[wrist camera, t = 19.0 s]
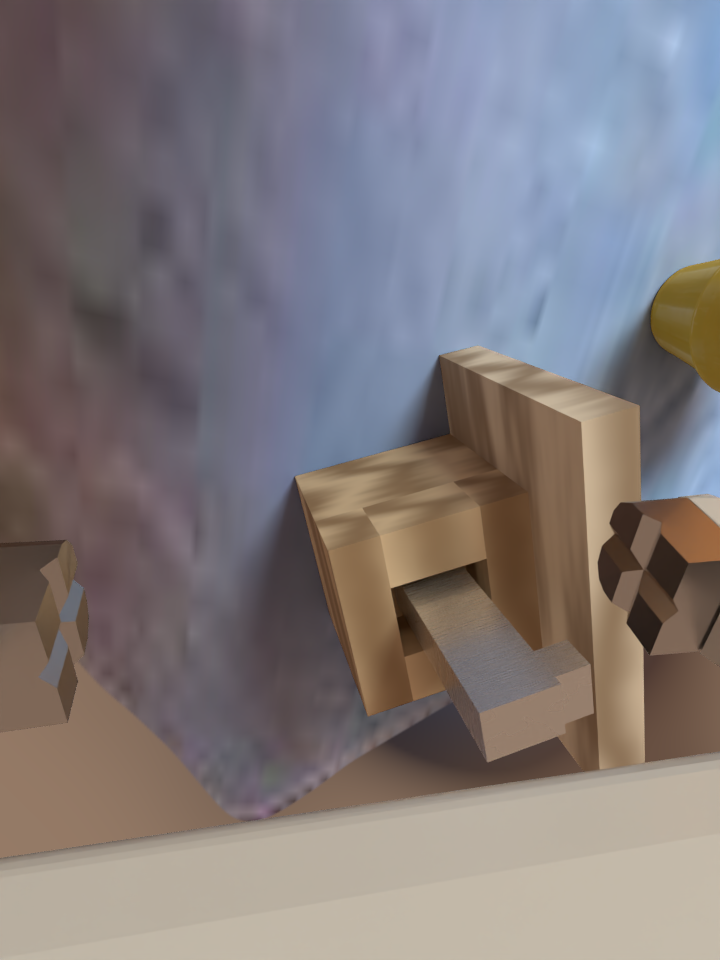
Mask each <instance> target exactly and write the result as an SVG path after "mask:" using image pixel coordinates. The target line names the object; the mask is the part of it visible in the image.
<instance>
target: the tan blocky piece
mask: <svg viewBox="0 0 720 960" xmlns="http://www.w3.org/2000/svg"><path fill="white" fill-rule="evenodd" d="M439 358H440V365H441V372H442V379H443V386H444V393H445V400H446V408H447V415H448V422H449V429H450V434H448V435H444V436H441V437H437V438H433V439H430V440H426V441H422V442H419V443H415V444H411V445H408V446H404V447H400V448H397V449H393V450H389V451H386V452H382V453H378V454H375V455H371V456H367V457H364V458H360V459H356V460H353V461H349V462H346V463H342V464H338V465H335V466H331V467H327V468H324V469H320V470H316V471H313V472H309V473H305V474H302V475H298V476H295V479H296V483H297V487H298V491H299V495H300V499H301V503H302V507H303V511H304V515H305V519H306V523H307V527H308V531H309V535H310V539H311V542H312V546H313V550H314V554H315V558H316V562H317V566H318V570H319V574H320V578H321V582H322V586H323V590H324V594H325V598H326V602H327V606H328V610H329V614H330V616H331V619H332V622H333V624H334V627H335V630H336V632H337V635H338V638H339V640H340V643H341V646H342V648H343V651H344V654H345V656H346V659H347V662H348V664H349V667H350V670H351V672H352V675H353V678H354V680H355V683H356V686H357V688H358V691H359V694H360V696H361V699H362V702H363V704H364V707H365V710H366V712H367V715H368V716H371V715H374V714H377V713H380V712H383V711H386V710H389V709H392V708H395V707H397V706H400V705H403V704H406V703H409V702H412V701H415V700H418V699H421V698H424V697H427V696H430V695H433V694H436V693H439V692H441V691H444V690H446V689H445V687H444V685H443V684H442V682H441V680H440V678H439V677H438V675H437V673H436V671H435V670H434V668H433V666H432V664H431V663H430V661H429V659H428V657H427V656H426V654H425V652H424V650H423V649H422V647H421V645H420V643H419V641H418V640H417V638H416V636H415V634H414V633H413V631H412V629H411V627H410V626H409V624H408V622H407V620H406V619H405V617H404V615H403V613H402V612H401V610H400V608H399V606H398V605H397V602H396V597H395V592H394V587H397V586H400V585H403V584H407V583H410V582H413V581H416V580H419V579H423V578H426V577H429V576H432V575H436V574H439V573H442V572H445V571H449V570H452V569H455V568H458V567H461V566H463V567H464V568H465V569H466V571H467V572H468V573H469V574H470V575H471V577H472V578H473V579H474V580H475V581H476V583H477V584H478V585H479V586H480V587H481V589H482V590H483V591H484V592H485V593H486V595H487V596H488V597H489V598H490V599H491V601H492V602H493V603H494V604H495V605H496V607H497V608H498V609H499V610H500V611H501V613H502V614H503V615H504V616H505V617H506V619H507V620H508V621H509V622H510V623H511V624H512V626H513V627H514V628H515V629H516V630H517V632H518V633H519V634H520V635H521V636H522V638H523V639H524V640H525V641H526V642H527V644H528V645H529V646H530V647H531V648H532V650H533V651H536V650H539V649H542V648H544V647H547V646H550V645H553V644H556V643H559V642H562V641H565V640H568V641H569V642H570V643H571V644H572V645H573V646H574V647H575V648H576V650H577V651H578V652H579V653H580V654H581V655H582V656H583V657H584V658H585V659H586V660H587V661H588V662H589V663H590V664H591V679H592V693H593V708H594V713H593V714H591V715H588V716H585V717H582V718H580V719H577V720H574V721H572V722H569V723H566V724H565V731H566V733H565V734H562V735H560V736H558V738H559V739H560V740H561V741H562V743H563V744H564V746H565V747H566V749H567V750H568V751H569V753H570V754H571V755H572V757H573V758H574V759H575V760H576V762H577V763H578V765H579V766H580V767H581V769H582V770H583V772H587V771H594V770H600V769H607V768H614V767H620V766H627V765H634V764H640V763H645V752H644V750H645V746H644V681H643V680H644V679H643V677H644V676H643V646H642V644H641V643H640V641H639V640H638V639H637V637H636V636H635V635H634V633H633V632H632V630H631V629H630V628H629V626H628V625H627V624H626V622H627V615H628V612H627V611H625V610H623V609H622V608H620V607H618V606H616V605H615V604H613V603H611V601H610V600H609V598H608V597H607V595H606V594H605V593H604V591H603V588H602V586H601V583H600V581H599V575H598V563H597V562H598V559H599V555H600V551H601V548H602V545H603V544H604V543H605V542H606V541H608V540H609V539H610V538H611V537H612V536H613V535H614V532H613V530H612V528H611V526H610V524H609V523H610V520H611V517H612V514H613V511H614V509H615V508H616V507H617V506H618V505H619V503H620V502H631V501H641V464H640V406H639V405H637V404H634V403H631V402H629V401H626V400H623V399H621V398H618V397H615V396H612V395H610V394H607V393H604V392H602V391H599V390H596V389H594V388H591V387H588V386H586V385H583V384H580V383H578V382H575V381H572V380H569V379H567V378H564V377H561V376H559V375H556V374H553V373H551V372H548V371H545V370H543V369H540V368H537V367H535V366H532V365H529V364H526V363H524V362H521V361H518V360H516V359H513V358H510V357H508V356H505V355H502V354H500V353H497V352H494V351H492V350H489V349H486V348H483V347H481V346H474V347H470V348H466V349H462V350H458V351H454V352H450V353H447V354H443V355H439Z"/></svg>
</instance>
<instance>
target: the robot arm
mask: <svg viewBox="0 0 720 960" xmlns="http://www.w3.org/2000/svg"><path fill="white" fill-rule="evenodd" d="M609 524H610V526H611V528H612V530H613V532H614V535H613V536H612V537H611V538H610V539H609V540H608V541H606V542H605V543H604V544H603V545H602V548H601V551H600V555H599V559H598V562H597V563H598V575H599V581H600V583H601V586H602V588H603V591H604V593H605V594H606V595H607V597H608V598H609V600H610V601H611V603H613V604H615V605H616V606H618V607H620V608H622V609H623V610H625V611H627V612H628V615H627V622H626V624H627V625H628V626H629V628H630V629H631V630H632V632H633V633H634V635H635V636H636V637H637V639H638V640H639V641H640V643H641V644H642V646H643V647H644V648H645V650H646V651H647V652H648V654H649V655H660V654H672V653H684V652H695V651H701V653H700V654H701V655H703V656H704V657H706V658H707V659H709V660H710V661H712V662H713V663H714V664H716V665H717V666H719V667H720V498H718V497H715V496H712V495H710V494H703V495H693V496H683V497H678V498H672V499H658V500H645V501H631V502H620V503H619V505H618V506H617V507H616V508H615V509H614V511H613V514H612V517H611V520H610V523H609ZM77 564H78V563H77V560H76V556H75V553H74V549H73V546H72V544H71V543H70V542H69V541H67V540H55V541H35V542H14V543H0V732H6V731H13V730H21V729H28V728H35V727H41V726H48V725H56V724H63V723H68V719H69V716H70V711H71V707H72V703H73V699H74V695H75V691H76V687H77V683H78V680H77V677H76V672H75V669H74V664H75V663H76V662H77V661H78V660H79V659H80V658H81V657H82V656H84V653H85V649H86V644H87V639H88V623H89V615H88V606H87V599H86V595H85V591H84V588H83V587H82V586H80V585H79V584H78V583H76V582H75V581H74V580H73V578H74V575H75V571H76V568H77ZM0 960H720V752H714V753H708V754H701V755H694V756H687V757H681V758H674V759H667V760H662V761H655V762H647V763H640V764H634V765H627V766H620V767H614V768H607V769H600V770H594V771H587V772H580V773H574V774H567V775H561V776H554V777H546V778H540V779H533V780H526V781H519V782H512V783H506V784H499V785H492V786H485V787H479V788H472V789H465V790H458V791H452V792H445V793H438V794H431V795H425V796H417V797H410V798H404V799H397V800H390V801H383V802H377V803H370V804H363V805H356V806H349V807H343V808H336V809H329V810H322V811H316V812H309V813H302V814H295V815H288V816H282V817H275V818H269V819H261V820H254V821H248V822H241V823H234V824H227V825H221V826H214V827H207V828H201V829H194V830H187V831H181V832H174V833H167V834H160V835H153V836H146V837H140V838H133V839H126V840H120V841H113V842H106V843H99V844H92V845H86V846H79V847H72V848H65V849H59V850H52V851H45V852H38V853H31V854H25V855H18V856H11V857H5V858H0Z"/></svg>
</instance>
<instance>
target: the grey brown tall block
mask: <svg viewBox="0 0 720 960" xmlns="http://www.w3.org/2000/svg"><path fill="white" fill-rule="evenodd" d="M394 592H395V597H396V602H397V605H398V606H399V608H400V610H401V612H402V613H403V615H404V617H405V619H406V620H407V622H408V624H409V626H410V627H411V629H412V631H413V633H414V634H415V636H416V638H417V640H418V641H419V643H420V645H421V647H422V649H423V650H424V652H425V654H426V656H427V657H428V659H429V661H430V663H431V664H432V666H433V668H434V670H435V671H436V673H437V675H438V677H439V678H440V680H441V682H442V684H443V685H444V687H445V689H446V691H447V692H448V694H449V696H450V698H451V699H452V701H453V703H454V705H455V706H456V708H457V710H458V712H459V713H460V715H461V717H462V719H463V720H464V722H465V724H466V726H467V728H468V729H469V731H470V733H471V735H472V736H473V738H474V740H475V742H476V743H477V745H478V747H479V749H480V750H481V752H482V754H483V756H484V757H485V759H486V761H487V762H490V761H492V760H495V759H498V758H501V757H503V756H506V755H509V754H511V753H514V752H516V751H519V750H522V749H525V748H527V747H530V746H533V745H535V744H538V743H541V742H543V741H546V740H549V739H552V738H554V737H556V736H560V735H562V734H565V733H566V731H565V724H566V723H569V722H572V721H574V720H577V719H580V718H582V717H585V716H588V715H591V714H593V713H594V708H593V693H592V679H591V664H590V663H589V662H588V661H587V660H586V659H585V658H584V657H583V656H582V655H581V654H580V653H579V652H578V651H577V650H576V648H575V647H574V646H573V645H572V644H571V643H570V642H569V641H568V640H565V641H562V642H559V643H556V644H553V645H550V646H547V647H544V648H542V649H539V650H536V651H533V650H532V648H531V647H530V646H529V645H528V644H527V642H526V641H525V640H524V639H523V638H522V636H521V635H520V634H519V633H518V632H517V630H516V629H515V628H514V627H513V626H512V624H511V623H510V622H509V621H508V620H507V619H506V617H505V616H504V615H503V614H502V613H501V611H500V610H499V609H498V608H497V607H496V605H495V604H494V603H493V602H492V601H491V599H490V598H489V597H488V596H487V595H486V593H485V592H484V591H483V590H482V589H481V587H480V586H479V585H478V584H477V583H476V581H475V580H474V579H473V578H472V577H471V575H470V574H469V573H468V572H467V571H466V569H465V568H464V567H463V566H461V567H458V568H455V569H452V570H449V571H445V572H442V573H439V574H436V575H432V576H429V577H426V578H423V579H419V580H416V581H413V582H410V583H407V584H403V585H400V586H397V587H394Z"/></svg>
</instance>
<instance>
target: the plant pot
mask: <svg viewBox="0 0 720 960" xmlns="http://www.w3.org/2000/svg"><path fill="white" fill-rule="evenodd" d="M651 330H652V333H653V336H654V338H655V340H656V341H657V343H658V344H659V345H660V346H661V347H662V348H663V349H665V350H666V351H668V352H669V353H671V354H673V355H674V356H676V357H678V358H679V359H681V360H682V361H684V362H685V363H687V364H689V365H690V366H692V367H693V368H695V369H696V371H697V372H698V374H699V376H700V377H701V378H702V380H703V381H704V382H705V383H706V384H707V385H709V386H710V387H711V388H712V389H714V390H716V391H718V392H720V259H719V260H714V261H710V262H705V263H700V264H696V265H691V266H688V267H685V268H683V269H680V270H679V271H677V272H676V273H674V274H673V275H672V276H671V277H669V278H668V279H667V281H666V282H665V283H664V284H663V285H662V287H661V288H660V290H659V291H658V293H657V295H656V297H655V300H654V302H653V306H652V310H651Z"/></svg>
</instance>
